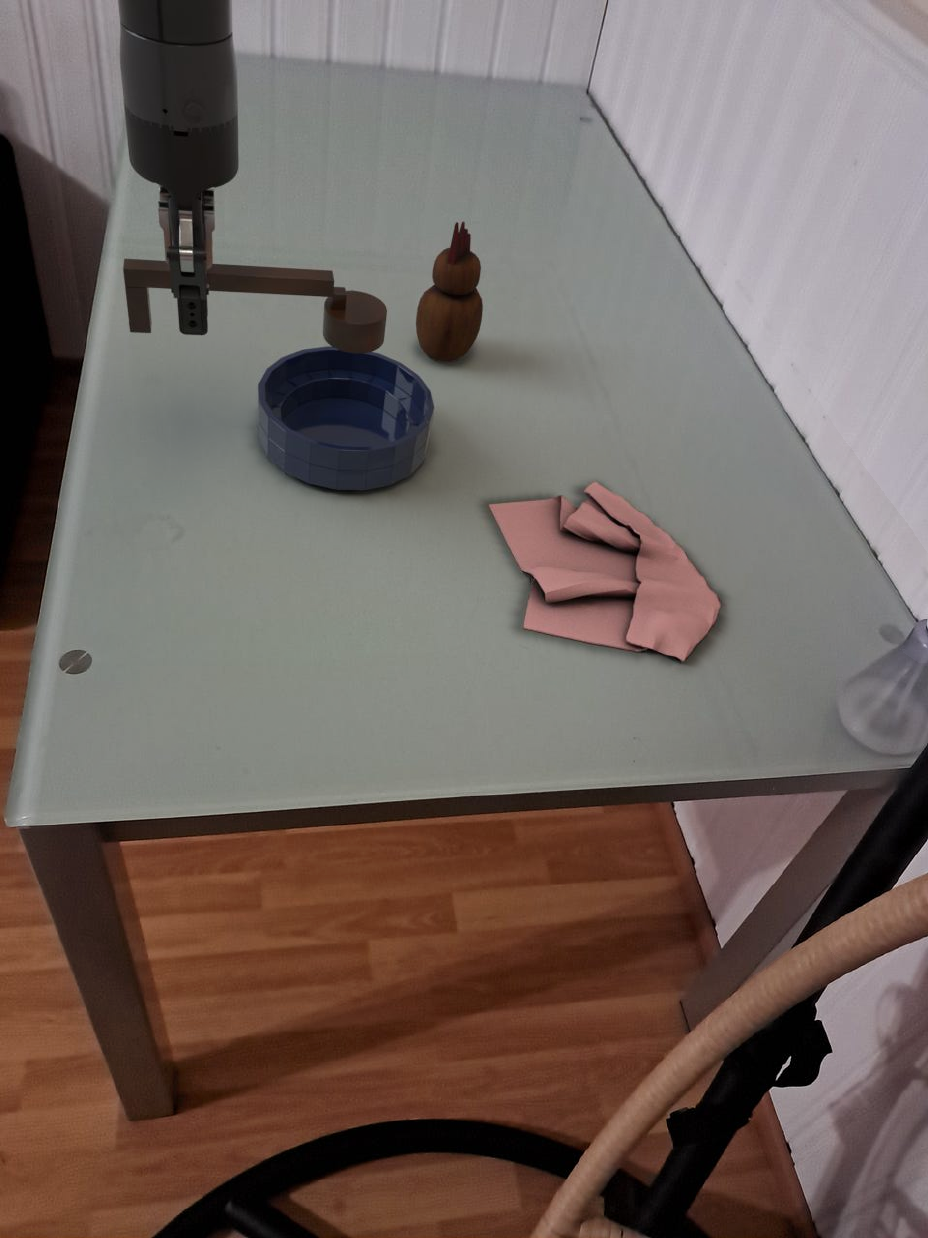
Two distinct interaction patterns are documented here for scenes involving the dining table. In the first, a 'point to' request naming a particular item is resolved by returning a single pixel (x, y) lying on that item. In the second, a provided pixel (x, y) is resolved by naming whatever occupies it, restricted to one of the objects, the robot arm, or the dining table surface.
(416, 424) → the bowl
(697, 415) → the dining table surface
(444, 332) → the wooden figurine
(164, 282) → the ladle
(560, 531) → the cloth
